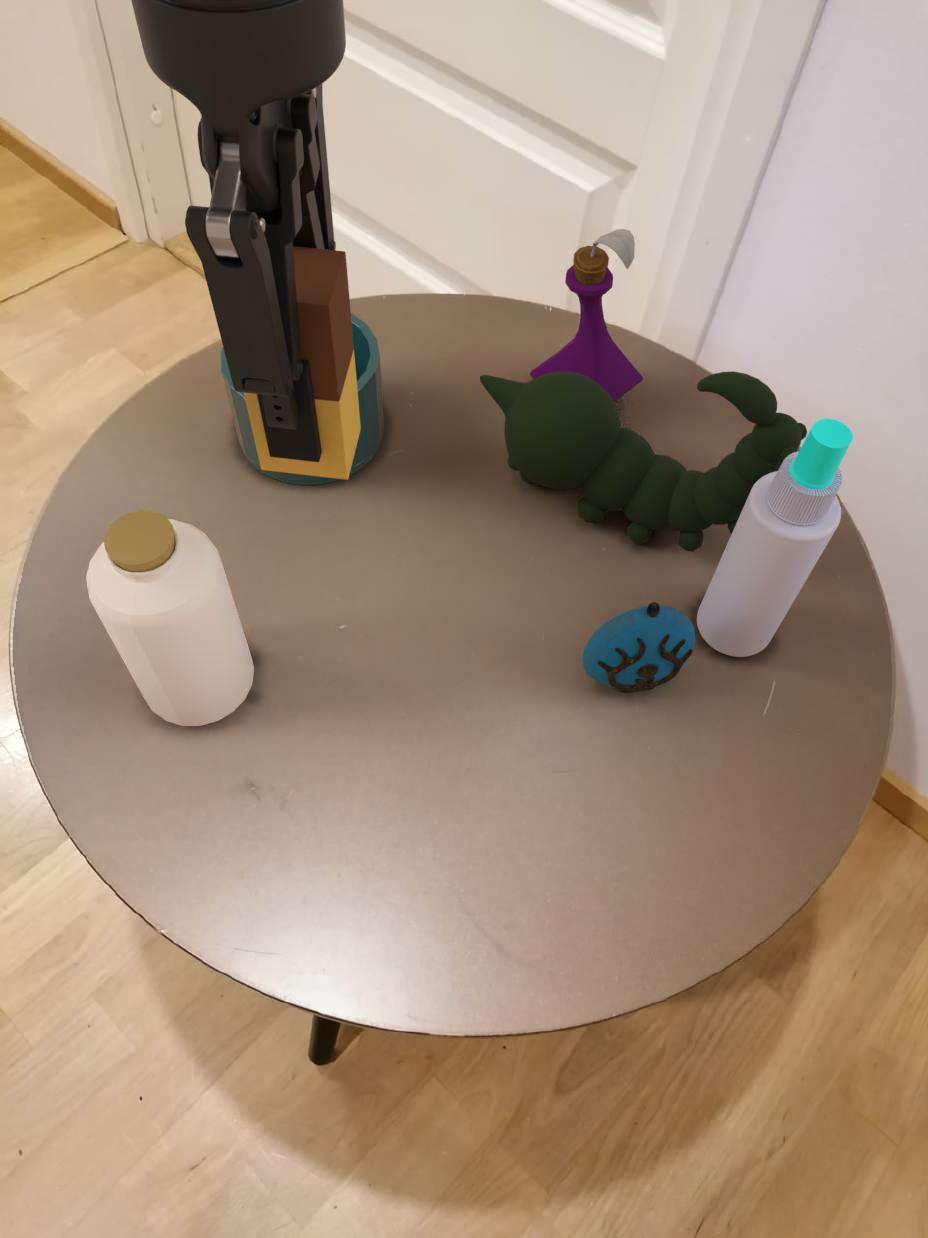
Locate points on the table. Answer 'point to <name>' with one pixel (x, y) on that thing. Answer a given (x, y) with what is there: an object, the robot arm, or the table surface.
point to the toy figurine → (638, 453)
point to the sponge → (322, 365)
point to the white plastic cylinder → (171, 617)
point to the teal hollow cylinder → (367, 398)
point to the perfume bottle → (595, 320)
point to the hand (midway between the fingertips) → (305, 422)
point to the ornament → (640, 648)
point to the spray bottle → (775, 544)
